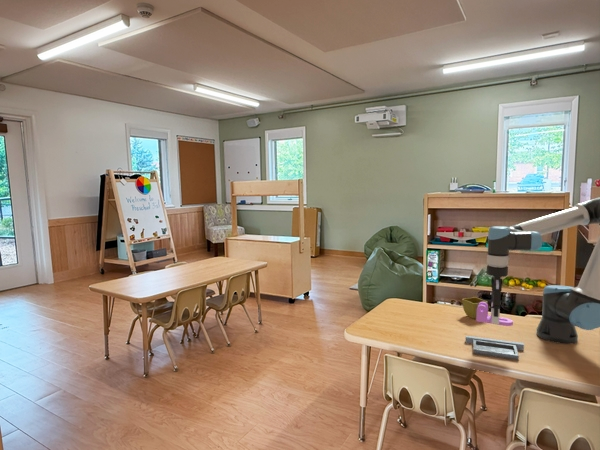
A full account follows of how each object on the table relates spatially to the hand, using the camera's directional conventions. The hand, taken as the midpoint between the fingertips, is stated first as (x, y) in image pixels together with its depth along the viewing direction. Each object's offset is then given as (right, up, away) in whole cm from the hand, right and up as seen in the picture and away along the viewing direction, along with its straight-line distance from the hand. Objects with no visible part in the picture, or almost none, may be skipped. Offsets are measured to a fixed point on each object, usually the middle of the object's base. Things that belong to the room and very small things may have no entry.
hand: (494, 320), depth 155 cm
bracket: (0, -1, 0) cm, 1 cm away
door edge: (+3, -12, +7) cm, 14 cm away
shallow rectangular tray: (0, -13, +1) cm, 13 cm away
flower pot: (+10, -8, +40) cm, 42 cm away
